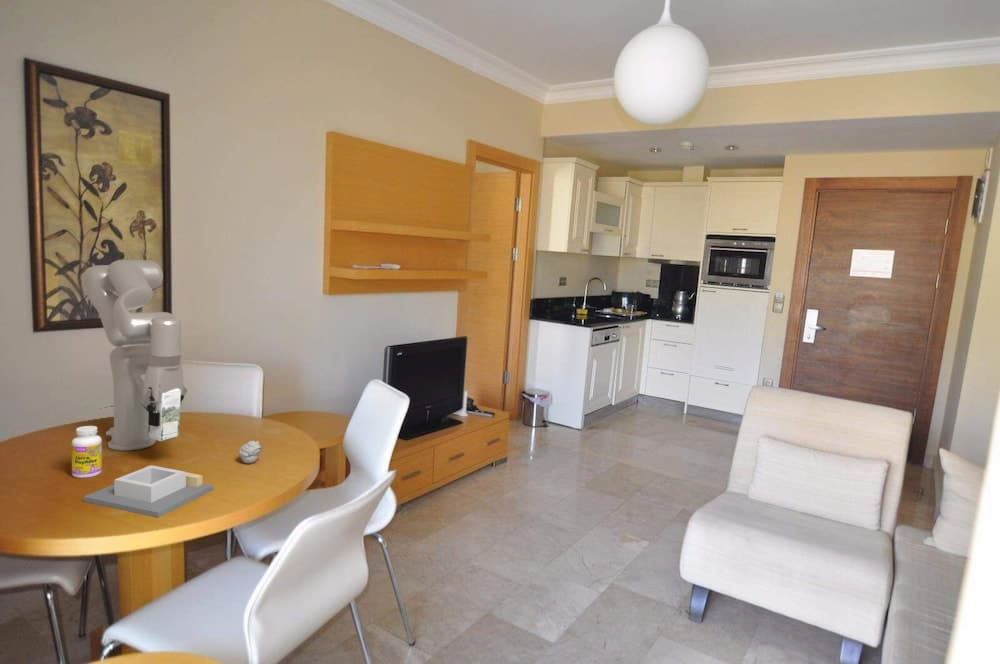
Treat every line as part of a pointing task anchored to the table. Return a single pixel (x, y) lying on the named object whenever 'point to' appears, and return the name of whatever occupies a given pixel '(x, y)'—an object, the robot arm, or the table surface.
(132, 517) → the table surface
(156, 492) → the socket jig
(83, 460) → the supplement bottle
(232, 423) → the table surface
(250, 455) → the white wrinkled round lump
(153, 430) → the syrup box
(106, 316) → the robot arm
